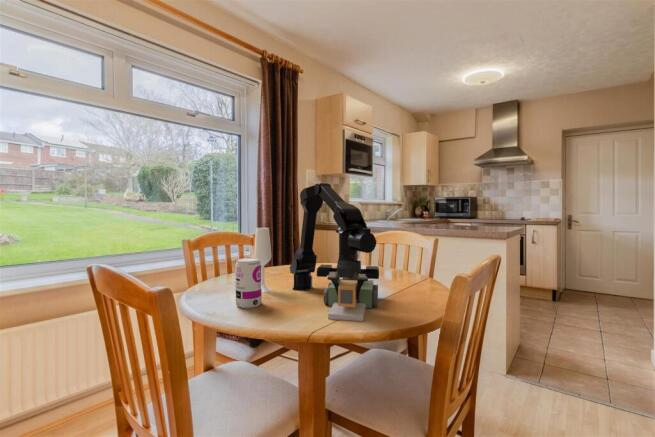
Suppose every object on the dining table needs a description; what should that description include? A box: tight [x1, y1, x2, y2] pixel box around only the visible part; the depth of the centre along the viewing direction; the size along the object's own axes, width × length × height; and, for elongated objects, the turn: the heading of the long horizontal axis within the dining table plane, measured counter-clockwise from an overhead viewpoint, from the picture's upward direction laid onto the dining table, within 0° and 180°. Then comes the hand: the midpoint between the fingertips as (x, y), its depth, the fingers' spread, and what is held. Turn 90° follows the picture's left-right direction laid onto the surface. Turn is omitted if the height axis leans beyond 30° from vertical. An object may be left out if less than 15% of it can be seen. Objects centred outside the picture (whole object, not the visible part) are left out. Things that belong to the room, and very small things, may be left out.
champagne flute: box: [253, 227, 273, 294], centre depth 127 cm, size 7×7×24 cm
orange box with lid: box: [338, 280, 357, 307], centre depth 102 cm, size 5×8×6 cm, turn 170°
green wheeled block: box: [323, 275, 379, 322], centre depth 107 cm, size 17×25×9 cm
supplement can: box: [234, 257, 263, 309], centre depth 109 cm, size 8×8×15 cm
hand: (348, 299), depth 102 cm, fingers closed on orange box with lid, 5 cm apart
